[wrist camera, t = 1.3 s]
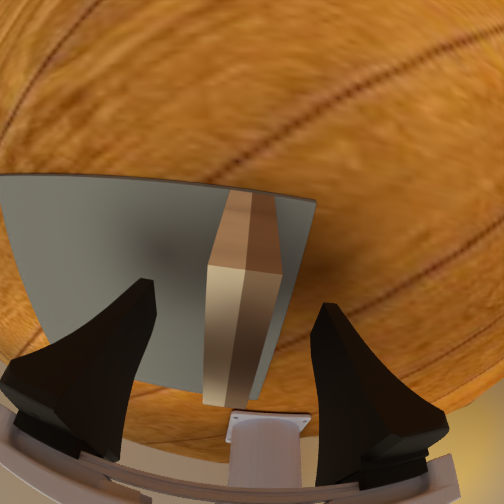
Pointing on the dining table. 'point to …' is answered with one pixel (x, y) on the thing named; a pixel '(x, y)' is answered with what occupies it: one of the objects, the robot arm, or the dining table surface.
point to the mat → (136, 258)
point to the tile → (240, 297)
